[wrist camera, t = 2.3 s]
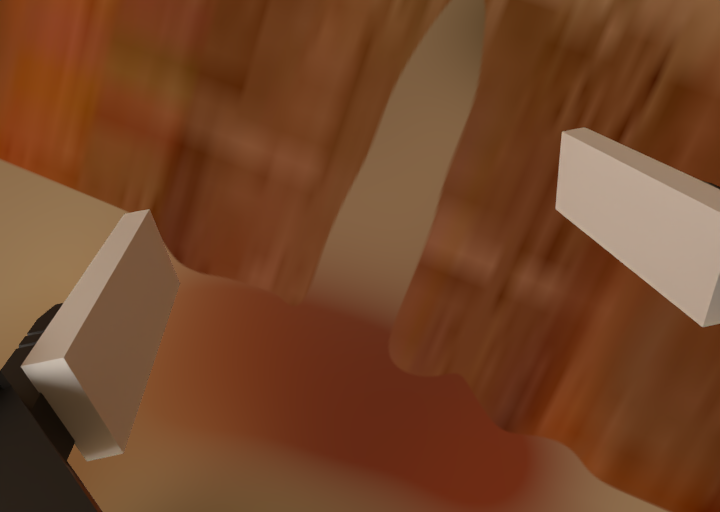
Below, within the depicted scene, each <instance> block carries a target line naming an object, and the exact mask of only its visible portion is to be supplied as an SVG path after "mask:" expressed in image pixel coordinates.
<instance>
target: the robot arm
mask: <svg viewBox="0 0 720 512" xmlns="http://www.w3.org/2000/svg"><path fill="white" fill-rule="evenodd" d="M555 209H556V210H557V211H558V212H560V213H561V214H562V215H563V216H565V217H566V218H567V219H568V220H570V221H571V222H572V223H573V224H575V225H576V226H577V227H578V228H580V229H581V230H582V231H583V232H585V233H586V234H587V235H588V236H590V237H591V238H592V239H593V240H595V241H596V242H597V243H598V244H600V245H601V246H602V247H603V248H605V249H606V250H607V251H608V252H610V253H611V254H612V255H613V256H614V257H616V258H617V259H618V260H619V261H621V262H622V263H623V264H624V265H626V266H627V267H628V268H629V269H631V270H632V271H633V272H634V273H636V274H637V275H638V276H639V277H641V278H642V279H643V280H644V281H646V282H647V283H648V284H649V285H651V286H652V287H653V288H654V289H656V290H657V291H658V292H659V293H661V294H662V295H663V296H664V297H665V298H667V299H668V300H669V301H670V302H672V303H673V304H674V305H675V306H677V307H678V308H679V309H680V310H682V311H683V312H684V313H685V314H687V315H688V316H689V317H690V318H692V319H693V320H694V321H695V322H697V323H698V324H699V325H700V326H702V327H707V326H711V325H716V324H720V187H719V186H716V185H714V184H712V183H708V182H704V181H700V180H698V179H696V178H694V177H692V176H690V175H687V174H685V173H683V172H681V171H679V170H677V169H674V168H672V167H670V166H668V165H666V164H663V163H661V162H659V161H657V160H655V159H653V158H650V157H648V156H646V155H644V154H642V153H640V152H637V151H635V150H633V149H631V148H629V147H627V146H624V145H622V144H620V143H618V142H616V141H613V140H611V139H609V138H607V137H605V136H603V135H600V134H598V133H596V132H594V131H592V130H590V129H587V128H585V127H584V128H578V129H573V130H568V131H562V137H561V149H560V161H559V172H558V184H557V196H556V208H555ZM179 285H180V282H179V280H178V278H177V275H176V273H175V270H174V268H173V265H172V263H171V260H170V258H169V255H168V253H167V251H166V248H165V246H164V243H163V241H162V238H161V236H160V233H159V231H158V229H157V226H156V224H155V221H154V219H153V216H152V214H151V212H150V209H148V210H142V211H137V212H132V213H126V214H124V215H123V216H122V218H121V219H120V221H119V222H118V224H117V225H116V227H115V228H114V230H113V231H112V232H111V234H110V235H109V237H108V238H107V240H106V241H105V243H104V245H103V246H102V247H101V249H100V250H99V252H98V253H97V255H96V256H95V257H94V259H93V260H92V262H91V263H90V265H89V266H88V268H87V269H86V271H85V272H84V274H83V275H82V277H81V278H80V280H79V281H78V283H77V284H76V285H75V287H74V288H73V290H72V292H71V293H70V294H69V296H68V297H67V299H66V300H65V302H64V303H61V304H57V305H55V306H53V307H52V308H51V309H49V310H48V311H47V312H46V313H45V314H44V315H42V316H41V317H40V318H38V319H37V321H36V322H35V324H34V325H33V326H32V328H31V329H30V330H29V332H28V333H27V334H28V336H25V337H24V339H23V340H22V341H21V343H20V344H19V348H18V349H16V350H15V351H14V353H13V354H12V356H11V357H10V358H9V359H8V361H7V362H6V364H5V365H4V366H3V368H2V369H1V370H0V512H102V510H101V509H100V508H99V506H98V505H97V503H96V502H95V500H94V499H93V497H92V496H91V495H90V493H89V492H88V490H87V489H86V487H85V486H84V484H83V483H82V481H81V480H80V479H79V477H78V476H77V474H76V473H75V471H74V470H73V469H72V467H71V466H70V465H69V463H68V462H67V459H68V457H69V454H70V452H71V450H72V448H73V445H74V444H75V445H76V446H77V448H78V449H79V450H80V452H81V453H82V455H83V456H84V458H85V459H86V461H91V460H95V459H100V458H105V457H109V456H113V455H118V454H123V453H124V450H125V447H126V444H127V441H128V438H129V435H130V432H131V429H132V426H133V423H134V420H135V417H136V414H137V411H138V408H139V405H140V402H141V399H142V396H143V393H144V390H145V387H146V384H147V380H148V378H149V375H150V372H151V369H152V366H153V363H154V360H155V357H156V354H157V351H158V348H159V345H160V342H161V339H162V336H163V333H164V330H165V327H166V324H167V321H168V318H169V315H170V312H171V309H172V306H173V303H174V300H175V297H176V294H177V291H178V287H179Z"/></svg>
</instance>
